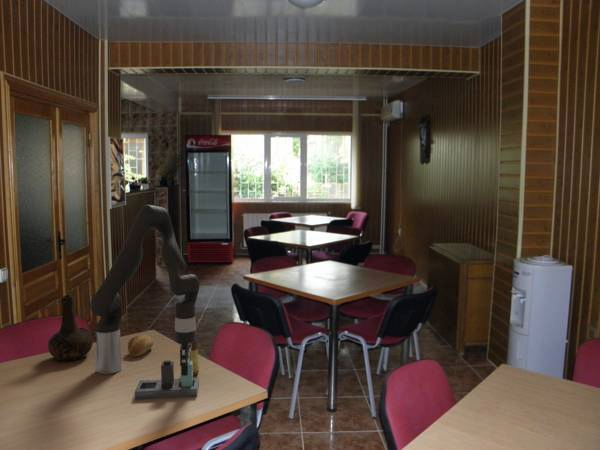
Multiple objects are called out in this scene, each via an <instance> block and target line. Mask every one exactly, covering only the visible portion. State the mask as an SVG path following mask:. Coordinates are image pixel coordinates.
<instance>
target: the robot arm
mask: <svg viewBox="0 0 600 450" xmlns="http://www.w3.org/2000/svg"><path fill="white" fill-rule="evenodd" d="M148 230H154V231H156V230H157V231H158V233H159V235H160V236H161V242H162V244H161V251H160V253H161V258H162V260H163V263H164V266H165V267H166V270H167V273H168V274H167V275H168V281H169V289H170V291H171V292H172V293H173V295H175V296H184V297H182V298H181V299H180V300H178V301H176V302H175V306H174V307H175V309H174V310H175V314H174V315H175V319H174V320H175V321H174V341H175V343H177V344H180V347H179V366H180V376H181V375H182V376H187V375H188V360H190V355H191V347H192V345H191V343H192V342H194V341H196V340H197V325H196V323H197V322H196V302H197V298H198V295H199V292H200V285H201V284H200V280H199V278H198V276H197V275H196V274H193V273H188V274H183V275H180V274H181V273H183V272H184V271H186V269H187V262H186V261H185V259H184V256H183V255H182V252H181V250H180V247H179V245H178V241H177V240H176V235H175V231H174V227H173V224H172V219H171V216H170V214H169V211H168V210H167V209H166V208H164V207H162V206H157V205H154V204H153V205H152V204H144V205H142V206H141V208H140V209H139V210H138V212H137V214H136V216H135V218H134V220H133V223H132V225H131V228H130V231H129V233H128V235H127V236H126V239H125V241H124V243H123V246H122V247H121V249H120V250H119V252H118V254H117V256H116V258H115V259H114V262H113V263H112V266H111V267H110V269H109V271H108V273H107V275H106V276H105V278H104V280H103V282H102V284H101V285H100V286H99V288H98V289H97V291H96V292H95V294H94V295H93V296H92V297H91V302H90V310H91V312H92V313H93V314H94V315H95V316H98V317H100V319H99V320H98V321H97V322H96V325H95V337H96V340H95V341H96V348H95V349H94V366H95V368H94V369H95V372H96V373H97V374H99V375H113V374H115V373H117V372H118V373H119V372H120V371H121V370H122V352H121V351H122V350H121V323H122V318H123V316H122V314H123V312H122V311H123V303H122V297H121V295H120V293H119V291H120V290H121V289H122V288H123V287H124V286H125V284H126V283H128V282H129V281H130V280H131V278H133V276H134V275H135V274H136V272H137V270H138V268H139V267H140V265H141V263H142V261H143V258H144V254H143V253H144V249H143V241H144V238H145V236H146V233H148ZM183 360H186V362H183Z"/></svg>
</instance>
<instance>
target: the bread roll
mask: <svg viewBox="0 0 600 450" xmlns="http://www.w3.org/2000/svg"><path fill="white" fill-rule="evenodd" d="M153 346H154V342H153V339H152V338H151V337H150V336H149V335H145V334H137V335H134V336H132V337H131V338H130V339H129V340H128V344H127V352H128V353H129V355H130V356H131V357H133V358H134V357H139V356H141V355H143V354H144V353H146V352H147V351H149V350H151V349H152V348H153Z"/></svg>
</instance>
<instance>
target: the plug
mask: <svg viewBox="0 0 600 450" xmlns="http://www.w3.org/2000/svg"><path fill="white" fill-rule="evenodd" d="M183 362H186V360H183ZM193 378H194V376H193V361H190V360H188V375H187V376H182V375H181V374H180V379H181V387H188V386H193Z"/></svg>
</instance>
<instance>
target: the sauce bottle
mask: <svg viewBox="0 0 600 450" xmlns="http://www.w3.org/2000/svg"><path fill="white" fill-rule="evenodd" d="M191 345H192V347H191V355H190V361H193V377H195V376H197V375H198V374H199V369H200V366H199V350H198V343H197V341H196V340H195V341H194V342H192V343H191Z"/></svg>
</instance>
